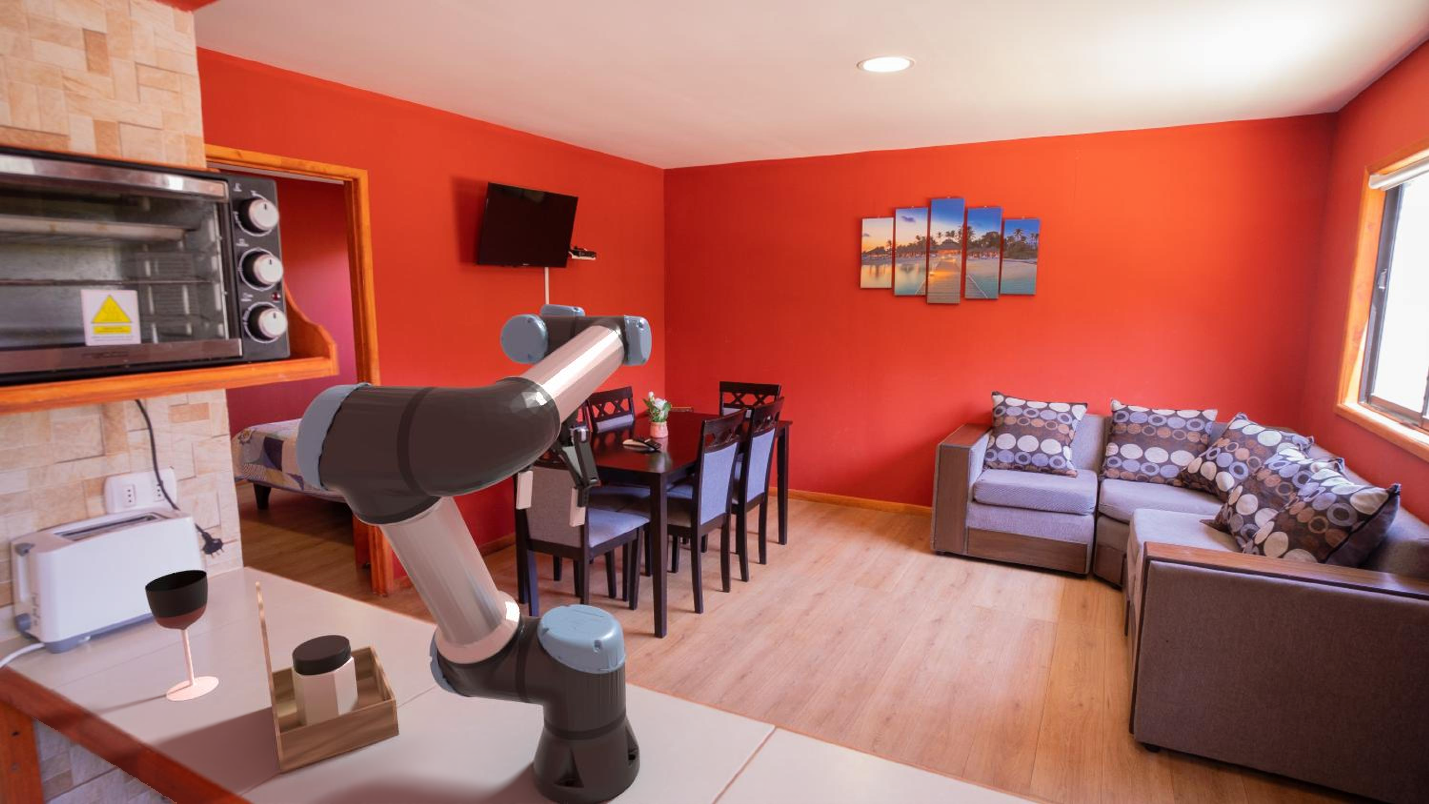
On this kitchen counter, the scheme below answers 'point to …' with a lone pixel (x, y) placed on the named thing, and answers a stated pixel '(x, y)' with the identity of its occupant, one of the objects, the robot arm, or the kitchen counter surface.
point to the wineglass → (181, 620)
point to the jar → (324, 679)
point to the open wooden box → (337, 732)
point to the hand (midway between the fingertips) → (549, 516)
